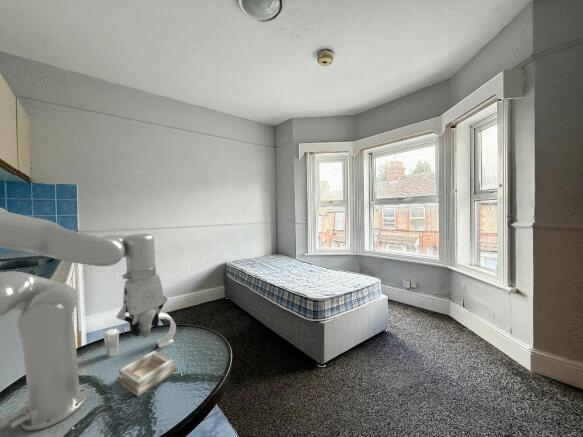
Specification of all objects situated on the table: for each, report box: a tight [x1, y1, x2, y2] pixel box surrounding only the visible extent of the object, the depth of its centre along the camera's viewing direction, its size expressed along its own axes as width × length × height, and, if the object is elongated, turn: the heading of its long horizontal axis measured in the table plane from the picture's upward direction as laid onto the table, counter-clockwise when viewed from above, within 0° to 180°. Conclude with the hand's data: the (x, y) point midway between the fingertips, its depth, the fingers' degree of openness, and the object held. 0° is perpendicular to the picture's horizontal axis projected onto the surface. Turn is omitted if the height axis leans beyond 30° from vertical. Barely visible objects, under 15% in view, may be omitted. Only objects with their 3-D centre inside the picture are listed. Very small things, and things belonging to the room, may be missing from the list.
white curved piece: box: [156, 312, 177, 349], centre depth 93 cm, size 5×6×12 cm
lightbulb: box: [137, 308, 156, 338], centre depth 74 cm, size 6×6×11 cm
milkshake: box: [103, 328, 120, 358], centre depth 86 cm, size 4×5×10 cm
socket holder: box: [116, 350, 177, 397], centre depth 75 cm, size 12×12×4 cm
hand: (145, 329), depth 74 cm, fingers closed on lightbulb, 5 cm apart
